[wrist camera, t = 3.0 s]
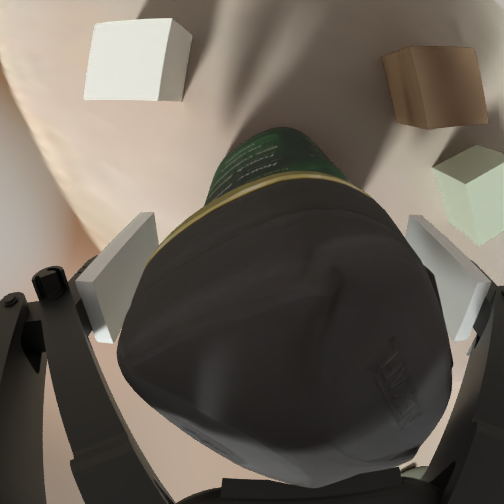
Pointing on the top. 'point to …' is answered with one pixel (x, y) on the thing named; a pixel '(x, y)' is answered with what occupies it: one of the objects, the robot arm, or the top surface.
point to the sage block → (473, 192)
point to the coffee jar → (290, 322)
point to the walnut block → (436, 86)
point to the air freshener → (415, 472)
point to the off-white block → (138, 60)
